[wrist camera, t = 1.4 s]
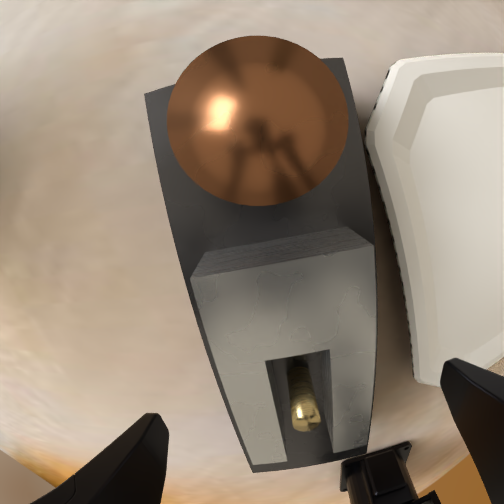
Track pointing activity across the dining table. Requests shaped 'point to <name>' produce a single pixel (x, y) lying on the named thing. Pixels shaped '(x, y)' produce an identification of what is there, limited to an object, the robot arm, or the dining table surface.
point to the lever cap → (292, 330)
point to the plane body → (263, 186)
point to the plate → (445, 202)
